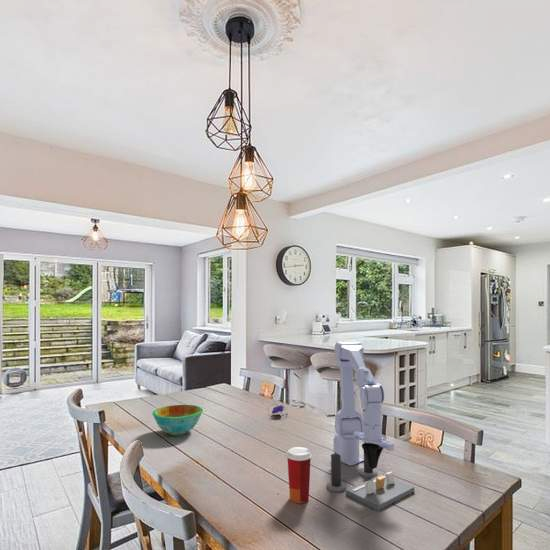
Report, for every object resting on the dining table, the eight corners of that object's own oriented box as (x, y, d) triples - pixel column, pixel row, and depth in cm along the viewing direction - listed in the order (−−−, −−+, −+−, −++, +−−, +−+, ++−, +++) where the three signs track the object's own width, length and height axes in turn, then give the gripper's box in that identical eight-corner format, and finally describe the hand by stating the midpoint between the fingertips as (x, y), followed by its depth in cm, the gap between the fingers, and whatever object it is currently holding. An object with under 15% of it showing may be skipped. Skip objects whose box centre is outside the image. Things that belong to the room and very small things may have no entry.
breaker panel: (345, 494, 120) (345, 488, 120) (382, 478, 130) (382, 473, 131) (378, 511, 110) (377, 504, 110) (414, 492, 121) (414, 486, 121)
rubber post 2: (356, 473, 134) (355, 443, 135) (367, 469, 138) (366, 440, 139) (369, 479, 130) (369, 448, 130) (381, 474, 133) (380, 444, 134)
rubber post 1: (322, 487, 125) (322, 454, 125) (335, 481, 128) (335, 450, 129) (336, 494, 120) (336, 460, 121) (349, 488, 124) (349, 456, 124)
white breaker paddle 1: (366, 493, 117) (364, 482, 117) (371, 490, 118) (370, 480, 119) (369, 494, 116) (367, 483, 117) (374, 491, 117) (373, 480, 118)
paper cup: (310, 492, 121) (309, 446, 122) (313, 505, 113) (313, 455, 114) (285, 492, 121) (285, 446, 122) (286, 505, 113) (286, 456, 114)
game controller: (265, 406, 208) (283, 401, 210) (269, 422, 205) (287, 417, 208) (268, 405, 199) (286, 400, 201) (272, 422, 196) (291, 416, 198)
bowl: (141, 439, 169) (142, 415, 170) (167, 424, 190) (168, 403, 191) (189, 443, 163) (189, 419, 164) (210, 427, 185) (210, 405, 186)
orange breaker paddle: (375, 487, 120) (376, 477, 120) (380, 484, 122) (381, 475, 122) (378, 489, 119) (379, 479, 119) (383, 486, 121) (384, 477, 121)
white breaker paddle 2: (386, 483, 123) (385, 473, 124) (391, 481, 125) (390, 471, 125) (389, 484, 122) (388, 474, 123) (394, 482, 124) (393, 471, 124)
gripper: (346, 420, 127) (347, 463, 126) (383, 431, 116) (384, 479, 115) (360, 416, 131) (361, 457, 130) (397, 427, 120) (398, 472, 119)
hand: (373, 467), depth 123 cm, fingers closed
